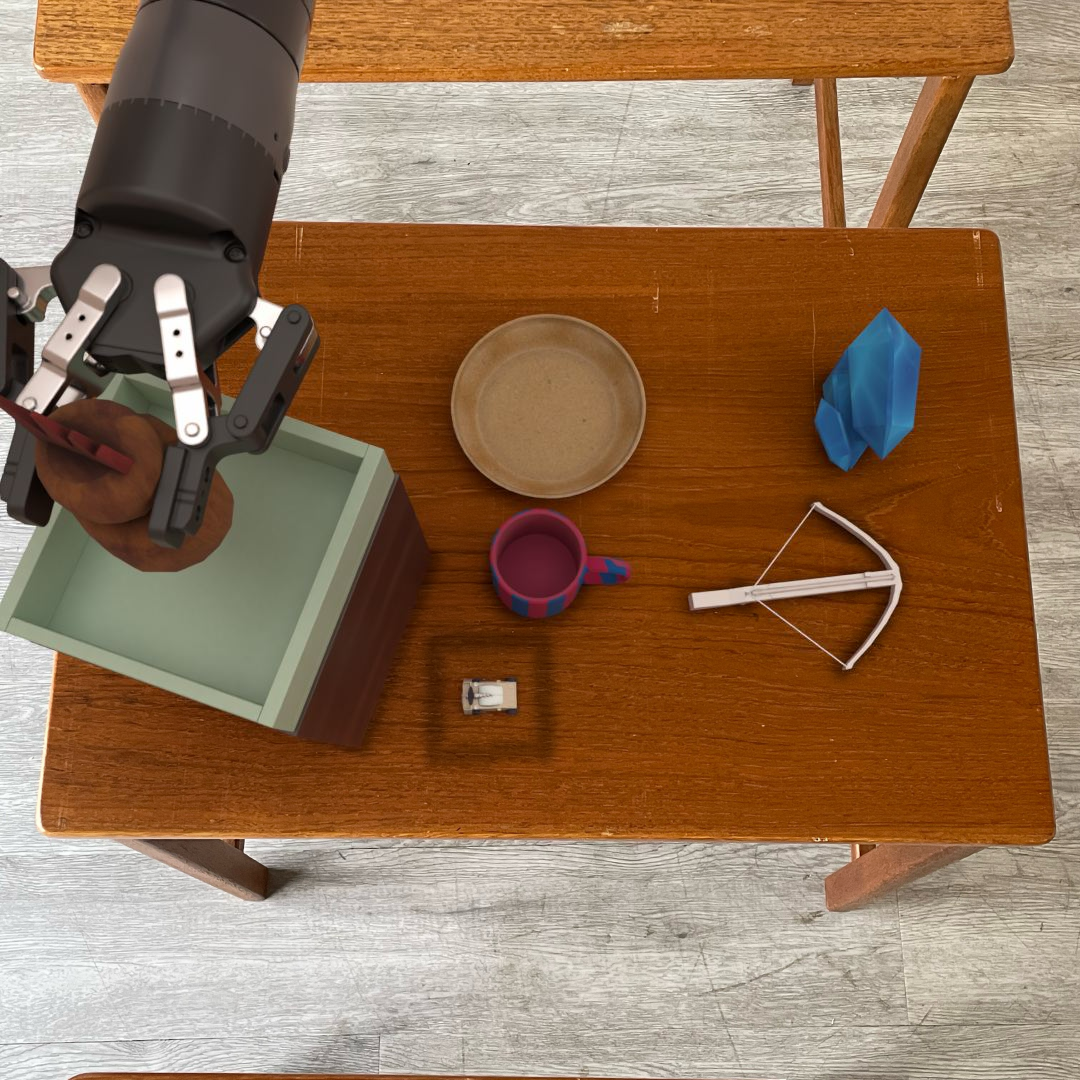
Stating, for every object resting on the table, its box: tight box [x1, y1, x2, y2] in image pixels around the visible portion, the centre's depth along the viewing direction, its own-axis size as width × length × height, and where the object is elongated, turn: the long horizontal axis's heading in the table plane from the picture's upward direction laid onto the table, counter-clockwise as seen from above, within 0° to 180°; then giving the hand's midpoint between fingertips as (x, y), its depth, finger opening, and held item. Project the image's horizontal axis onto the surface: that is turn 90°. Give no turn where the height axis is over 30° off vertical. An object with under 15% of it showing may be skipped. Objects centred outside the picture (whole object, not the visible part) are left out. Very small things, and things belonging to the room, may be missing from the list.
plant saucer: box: [450, 313, 647, 499], centre depth 80 cm, size 15×15×3 cm
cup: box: [489, 508, 632, 619], centre depth 75 cm, size 7×10×7 cm
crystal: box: [813, 306, 922, 473], centre depth 78 cm, size 7×9×12 cm
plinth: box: [29, 471, 433, 749], centre depth 66 cm, size 15×15×22 cm
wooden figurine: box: [0, 395, 234, 572], centre depth 42 cm, size 7×6×15 cm
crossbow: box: [687, 501, 904, 671], centre depth 77 cm, size 16×13×2 cm
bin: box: [0, 373, 394, 732], centre depth 53 cm, size 15×15×5 cm
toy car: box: [460, 676, 519, 716], centre depth 75 cm, size 3×4×2 cm, turn 92°
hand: (96, 531), depth 41 cm, fingers closed on wooden figurine, 5 cm apart
